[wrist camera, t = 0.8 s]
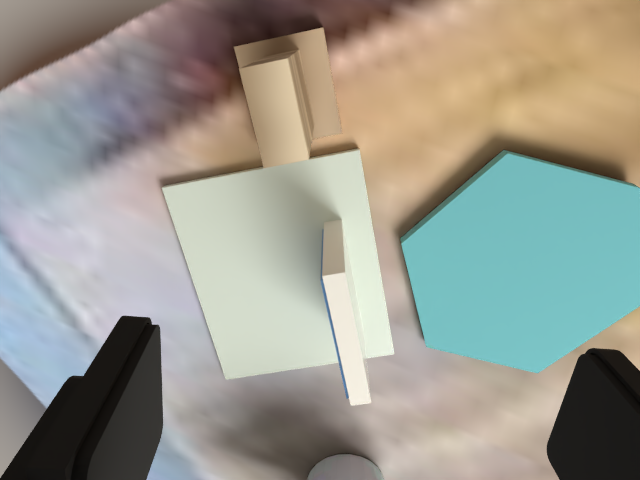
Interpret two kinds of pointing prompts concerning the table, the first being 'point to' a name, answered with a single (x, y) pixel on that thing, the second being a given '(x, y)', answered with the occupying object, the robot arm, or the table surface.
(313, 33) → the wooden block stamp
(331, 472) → the mug
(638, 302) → the plaque
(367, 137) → the table surface
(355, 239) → the board
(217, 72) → the table surface
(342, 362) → the tile
